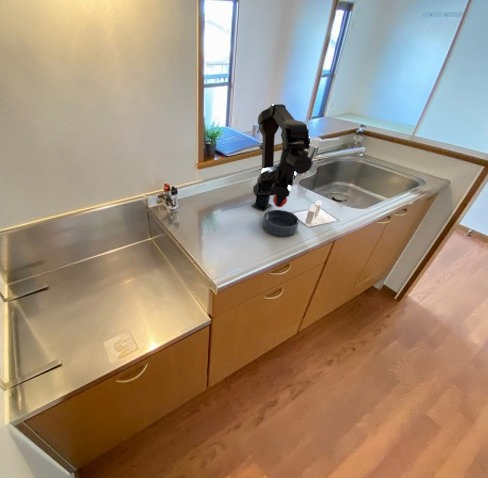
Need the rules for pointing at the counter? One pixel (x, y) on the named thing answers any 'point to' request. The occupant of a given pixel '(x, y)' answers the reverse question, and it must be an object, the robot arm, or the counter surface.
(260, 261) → the counter surface
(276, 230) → the bowl
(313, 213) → the napkin holder
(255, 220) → the counter surface
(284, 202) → the tomato
